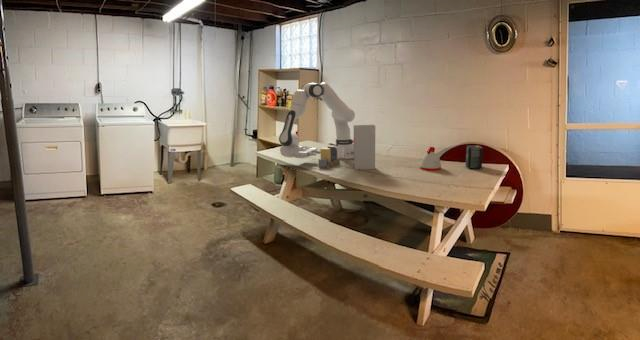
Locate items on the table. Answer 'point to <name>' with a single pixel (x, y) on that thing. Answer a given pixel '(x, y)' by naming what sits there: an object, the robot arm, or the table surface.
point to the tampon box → (474, 156)
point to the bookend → (323, 163)
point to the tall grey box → (364, 147)
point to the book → (326, 154)
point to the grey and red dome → (430, 161)
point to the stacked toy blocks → (332, 157)
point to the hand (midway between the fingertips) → (317, 153)
